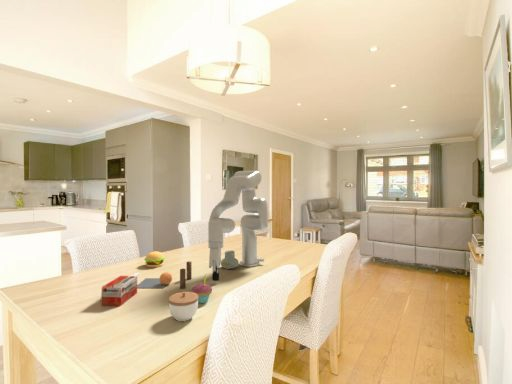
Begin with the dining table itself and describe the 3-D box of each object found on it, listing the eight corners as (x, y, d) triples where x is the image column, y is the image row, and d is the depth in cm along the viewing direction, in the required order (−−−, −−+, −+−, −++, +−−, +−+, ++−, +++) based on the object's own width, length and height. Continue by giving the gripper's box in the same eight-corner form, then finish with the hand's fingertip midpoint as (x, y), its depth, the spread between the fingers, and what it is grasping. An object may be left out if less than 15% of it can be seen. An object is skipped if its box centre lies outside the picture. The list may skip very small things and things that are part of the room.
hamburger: (168, 263, 174) (168, 250, 174) (159, 268, 163) (159, 254, 162) (150, 262, 176) (150, 249, 176) (140, 268, 164) (140, 253, 164)
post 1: (186, 286, 132) (186, 268, 132) (184, 288, 130) (184, 270, 130) (180, 286, 132) (180, 268, 132) (179, 288, 130) (179, 270, 130)
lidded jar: (172, 311, 106) (172, 287, 106) (200, 310, 107) (200, 287, 106) (165, 325, 95) (165, 298, 95) (196, 324, 96) (196, 297, 96)
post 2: (191, 278, 145) (192, 261, 145) (190, 279, 143) (190, 262, 143) (187, 278, 145) (187, 261, 145) (185, 279, 143) (185, 262, 143)
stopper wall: (139, 277, 146) (139, 272, 146) (124, 289, 128) (124, 284, 128) (135, 277, 146) (135, 272, 146) (119, 289, 128) (119, 284, 128)
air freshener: (240, 267, 166) (240, 251, 166) (234, 271, 159) (234, 253, 159) (225, 265, 171) (225, 249, 171) (218, 268, 164) (218, 252, 163)
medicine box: (120, 307, 110) (120, 287, 110) (100, 306, 110) (100, 287, 110) (138, 292, 125) (138, 275, 125) (120, 292, 125) (120, 275, 125)
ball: (164, 268, 138) (158, 278, 138) (162, 272, 132) (156, 283, 132) (175, 273, 139) (169, 284, 139) (173, 277, 133) (167, 288, 133)
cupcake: (215, 298, 118) (215, 271, 118) (205, 306, 110) (205, 277, 110) (198, 296, 121) (198, 269, 121) (187, 303, 113) (187, 274, 113)
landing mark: (172, 278, 144) (172, 278, 144) (163, 288, 130) (163, 287, 130) (145, 278, 144) (145, 278, 144) (134, 288, 130) (134, 287, 130)
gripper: (210, 241, 145) (210, 275, 145) (205, 247, 130) (205, 285, 130) (224, 241, 145) (224, 275, 145) (221, 247, 130) (221, 285, 130)
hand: (215, 280), depth 138 cm, fingers closed
